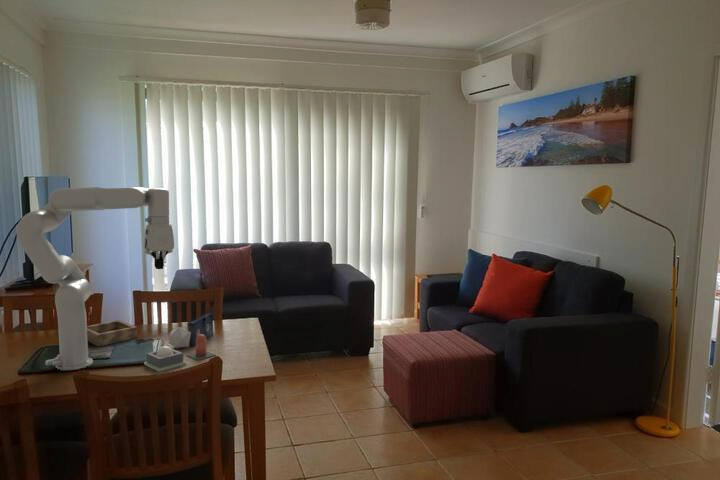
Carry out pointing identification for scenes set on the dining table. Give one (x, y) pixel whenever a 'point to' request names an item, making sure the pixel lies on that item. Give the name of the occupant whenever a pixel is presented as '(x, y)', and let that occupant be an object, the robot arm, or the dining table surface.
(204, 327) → the vhs cassette tape
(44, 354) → the dining table surface
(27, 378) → the dining table surface
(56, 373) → the dining table surface
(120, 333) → the snack corral
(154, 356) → the popper base
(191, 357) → the coaster
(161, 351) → the popper dome
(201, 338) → the pawn
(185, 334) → the die
